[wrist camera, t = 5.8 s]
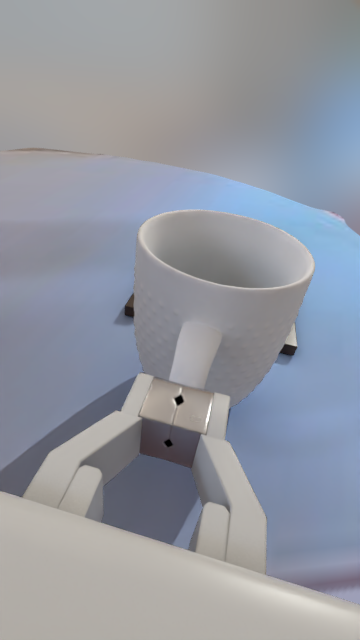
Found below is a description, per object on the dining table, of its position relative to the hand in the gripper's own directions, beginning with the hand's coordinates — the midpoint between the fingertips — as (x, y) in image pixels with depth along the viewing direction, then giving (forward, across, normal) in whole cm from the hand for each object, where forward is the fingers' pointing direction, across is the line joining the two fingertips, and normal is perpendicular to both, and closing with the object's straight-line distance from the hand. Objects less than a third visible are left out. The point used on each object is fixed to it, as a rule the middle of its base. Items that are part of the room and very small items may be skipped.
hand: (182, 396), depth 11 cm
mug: (+11, 0, -13) cm, 17 cm away
